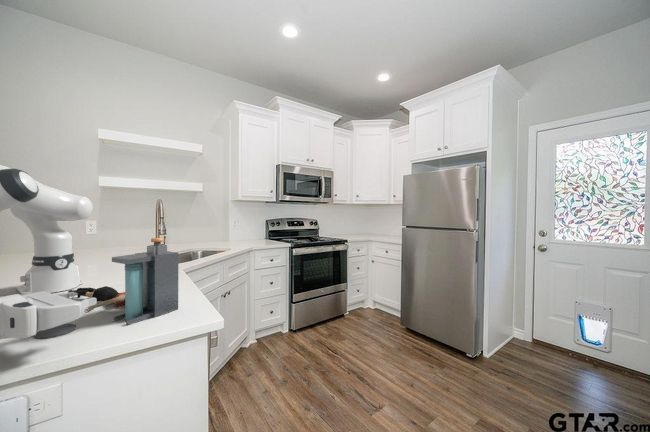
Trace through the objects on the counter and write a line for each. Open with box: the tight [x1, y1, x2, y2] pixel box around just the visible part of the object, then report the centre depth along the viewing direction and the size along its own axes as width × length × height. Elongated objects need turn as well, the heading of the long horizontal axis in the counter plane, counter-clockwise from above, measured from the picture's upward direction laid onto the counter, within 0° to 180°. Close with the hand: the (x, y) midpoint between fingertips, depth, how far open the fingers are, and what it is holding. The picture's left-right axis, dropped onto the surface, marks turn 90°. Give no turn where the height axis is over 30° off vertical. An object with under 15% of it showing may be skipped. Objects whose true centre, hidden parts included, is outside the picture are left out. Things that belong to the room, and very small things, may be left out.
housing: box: [111, 243, 179, 326], centre depth 86 cm, size 10×15×22 cm, turn 155°
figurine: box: [67, 286, 125, 314], centre depth 97 cm, size 29×6×30 cm
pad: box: [34, 322, 77, 340], centre depth 74 cm, size 8×8×1 cm
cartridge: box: [124, 262, 143, 321], centre depth 83 cm, size 5×5×17 cm
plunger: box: [150, 237, 164, 246], centre depth 89 cm, size 3×3×4 cm
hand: (85, 297), depth 72 cm, fingers open, 8 cm apart
